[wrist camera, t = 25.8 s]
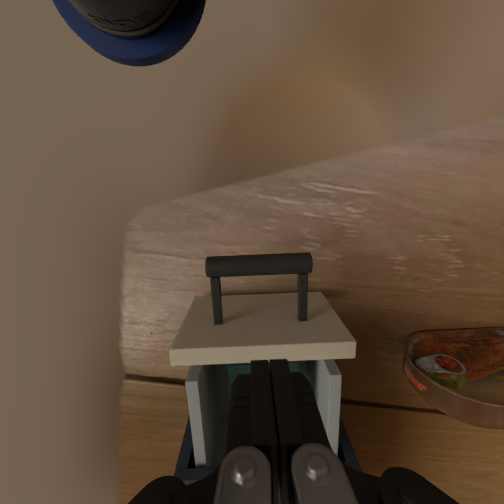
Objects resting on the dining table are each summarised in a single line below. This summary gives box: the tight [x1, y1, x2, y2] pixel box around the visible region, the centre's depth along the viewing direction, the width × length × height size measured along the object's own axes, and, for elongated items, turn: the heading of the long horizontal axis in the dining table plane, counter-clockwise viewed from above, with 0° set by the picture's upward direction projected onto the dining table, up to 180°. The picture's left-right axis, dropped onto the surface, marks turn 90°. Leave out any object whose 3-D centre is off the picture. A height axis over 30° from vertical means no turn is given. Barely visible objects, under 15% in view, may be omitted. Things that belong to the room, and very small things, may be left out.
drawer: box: [169, 253, 356, 468], centre depth 20 cm, size 18×11×8 cm, turn 2°
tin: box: [403, 327, 504, 429], centre depth 21 cm, size 15×3×8 cm, turn 92°
